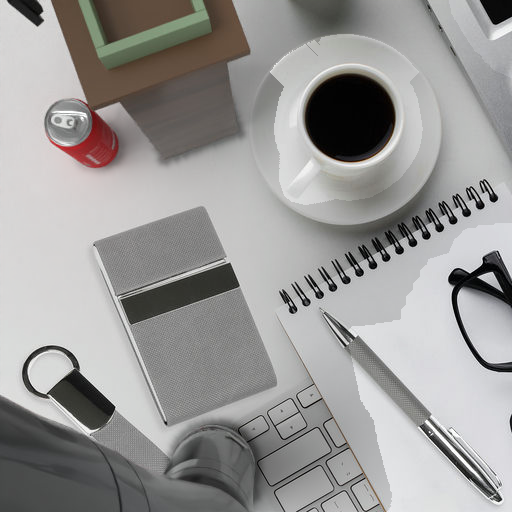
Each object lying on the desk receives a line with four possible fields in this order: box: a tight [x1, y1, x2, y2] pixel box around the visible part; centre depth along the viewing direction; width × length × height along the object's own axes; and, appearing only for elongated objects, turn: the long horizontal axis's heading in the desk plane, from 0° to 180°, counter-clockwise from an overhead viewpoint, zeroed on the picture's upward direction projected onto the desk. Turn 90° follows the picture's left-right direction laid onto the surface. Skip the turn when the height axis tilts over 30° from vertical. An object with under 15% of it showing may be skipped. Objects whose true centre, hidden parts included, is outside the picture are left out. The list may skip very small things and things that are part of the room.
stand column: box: [118, 63, 239, 160], centre depth 63 cm, size 9×9×29 cm
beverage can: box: [43, 97, 120, 169], centre depth 71 cm, size 5×5×12 cm
